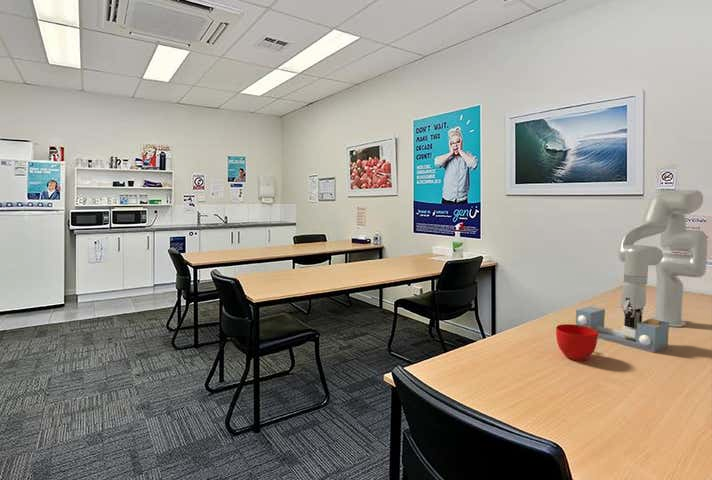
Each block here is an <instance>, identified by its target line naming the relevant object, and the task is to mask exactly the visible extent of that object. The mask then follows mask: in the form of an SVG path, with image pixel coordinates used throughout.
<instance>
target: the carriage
mask: <svg viewBox="0 0 712 480" xmlns="http://www.w3.org/2000/svg"><path fill="white" fill-rule="evenodd" d="M629 311H630V310H629ZM630 312H631V311H630ZM634 318H635V320H634V328H631V327H627V326H624V325H622V326H621V327H620V328H621V329H620V331H621V334H622V336H623V337H627V338H631V339H635V340H636V334H637V323H639V319H640V312H637V311H635V312H634Z"/></svg>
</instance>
